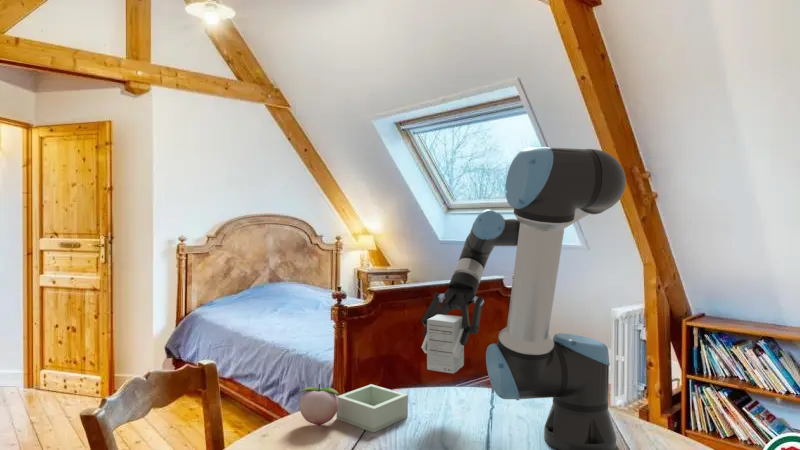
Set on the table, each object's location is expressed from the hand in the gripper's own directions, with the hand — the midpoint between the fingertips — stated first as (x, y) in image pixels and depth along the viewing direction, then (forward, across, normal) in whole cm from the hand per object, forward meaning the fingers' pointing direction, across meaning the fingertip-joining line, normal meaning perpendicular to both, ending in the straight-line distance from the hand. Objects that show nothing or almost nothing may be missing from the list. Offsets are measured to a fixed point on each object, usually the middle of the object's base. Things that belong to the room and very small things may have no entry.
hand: (439, 352), depth 125 cm
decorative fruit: (+25, +22, +1) cm, 33 cm away
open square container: (+17, +15, -6) cm, 23 cm away
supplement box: (+1, 0, -6) cm, 6 cm away
